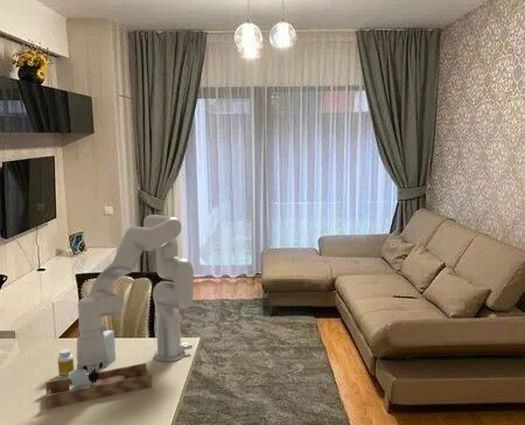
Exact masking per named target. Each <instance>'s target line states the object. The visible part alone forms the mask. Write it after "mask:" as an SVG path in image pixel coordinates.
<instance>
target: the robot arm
mask: <svg viewBox="0 0 525 425" xmlns="http://www.w3.org/2000/svg"><path fill="white" fill-rule="evenodd" d="M181 232H182V223H181V221H180V220H179V219H178V218H177V217H174V216H168V215H161V214H149V215H147V216H146V217H144V220H143V226H131V227H129V228H128V229H127V230H126V231H125V233H124V236H123V238H122V239H121V241H120V244H119V247H118V250H117V251H116V254H115V256H114V258H113V260H112V262H110V264H109V265H108V266H106V267H105V268H104V269H103V271H102V272H100V274H99V275H98V276H96V279H94V282H93V284H92V285H91V286H92V287H91V289H90V291H89V294H88V297H87V296H86V297H83V298H81V299H79V300H78V302H77V311H78V328H79V336H77V338H76V361H77V365H76V369H84V371H85V372H86V373H88V374H89V381H92V384H93V383H97V380H96V379H98V372H100V369H102V368H103V367H102V366H103V365H106V364H108V363H109V361H108V353H107V344H106V338H105V334H104V333H103V332H104V331H106V330H107V326H103V321H102V318H103V317H107V316H113V315H117V314H118V313H120V312H121V311H122V310H123V308H124V307H125V300H124V298H123V297H122V296H121V295H119V294H117V293H113V292H110V288H111V287H112V286H113V284H114V283H115V282H116V281H117V280H118V279H119V278H121V277H123V276H126V275H128V274H130V273H132V272H134V271H135V270H136V267H137V265H138V262H139V261H140V258H141V256H142V253H143V251H146V252H147V251H148V252H153V251H155V250H156V273H157V275H158V276H159V278H162V279H164V280H165V281H161V282H158V283H156V285H155V286H154V288H153V290H152V291H153V292H152V299H153V302H154V306H155V315H156V316H155V318H156V341H157V342H156V344H157V346H156V347H157V350H155V351H154V354H153V359H155V360H156V361H159V362H161V363H162V362H163V363H164V362H165V363H167V362H175V361H178V360H181V359H182V358H183V357H184V356H185V350H190V349H193V345H192V343H190V344H188V342H184V343H182V342H181V318H180V317H181V316H180V310H185V309H188V308H189V307H190V306H191V304H192V302H193V300H194V299H193V298H194V280H195V279H194V276H195V275H194V267H193V264H192V263H191V262H190V261H189V260H188V259H186V258H183V257H180V256H179V244H178V239H177V237H179V236H180V234H181ZM166 280H168V281H166ZM171 281H173V282H171ZM93 364H95V366H94V368H92V365H93Z"/></svg>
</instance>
